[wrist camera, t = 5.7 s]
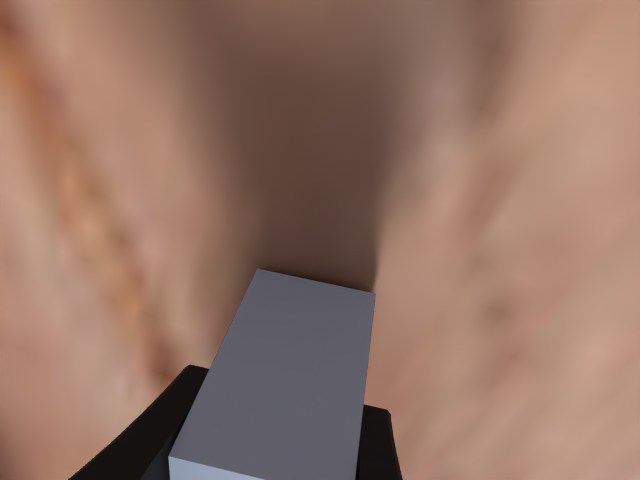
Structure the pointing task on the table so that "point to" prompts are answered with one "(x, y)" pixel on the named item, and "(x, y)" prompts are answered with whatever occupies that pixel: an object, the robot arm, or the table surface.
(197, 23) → the table surface
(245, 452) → the tall pale blue pillar
